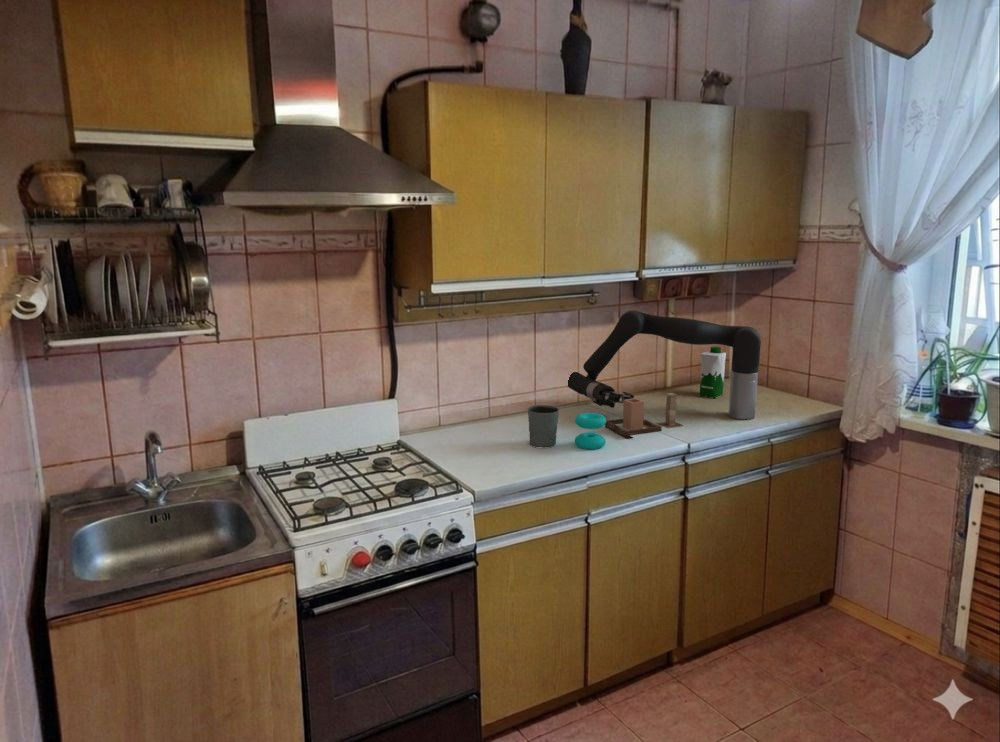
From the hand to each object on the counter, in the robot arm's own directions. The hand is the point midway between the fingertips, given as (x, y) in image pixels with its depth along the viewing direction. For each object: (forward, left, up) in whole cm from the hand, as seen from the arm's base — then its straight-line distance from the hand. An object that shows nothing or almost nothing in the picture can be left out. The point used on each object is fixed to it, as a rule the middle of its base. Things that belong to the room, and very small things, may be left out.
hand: (624, 403), depth 245 cm
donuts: (+24, -7, -9) cm, 26 cm away
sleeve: (+4, +4, -7) cm, 9 cm away
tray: (+4, +4, -8) cm, 10 cm away
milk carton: (-53, +28, -8) cm, 60 cm away
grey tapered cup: (+27, -22, -8) cm, 36 cm away
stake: (-4, +16, -8) cm, 18 cm away
